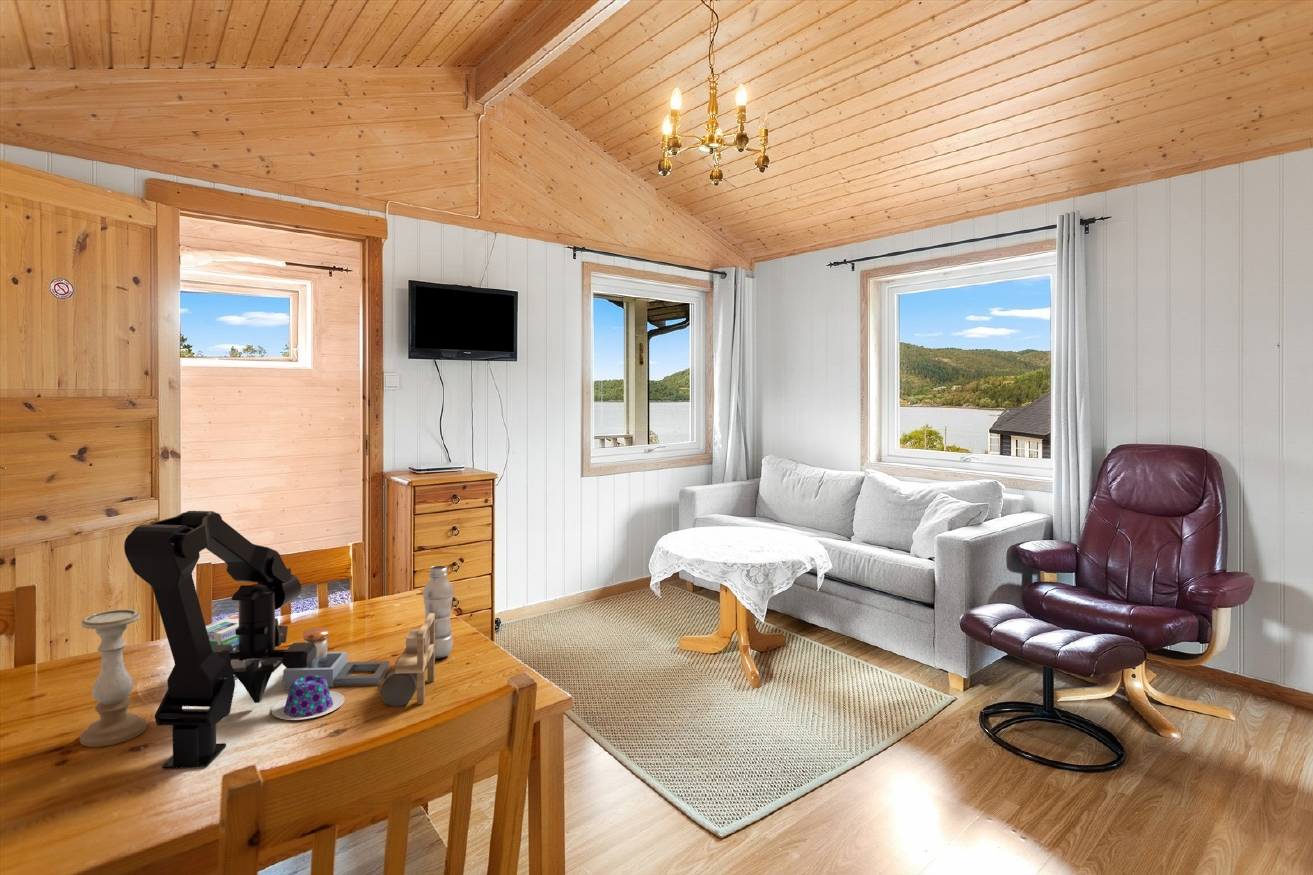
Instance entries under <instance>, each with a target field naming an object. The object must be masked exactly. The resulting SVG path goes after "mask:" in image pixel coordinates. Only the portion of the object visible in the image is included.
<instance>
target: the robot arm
mask: <svg viewBox="0 0 1313 875" xmlns="http://www.w3.org/2000/svg"><path fill="white" fill-rule="evenodd" d="M222 517H223V516H221V514H220V513H218V512H215V511H214V510H213V511H211V510H188V511H185V512H182V513H180V514H178V515H176V516H173V517H169V518H163V519H161V520H157V521H153V522H150V523H148V524H146V523H145V524H139V525H138V526H136V527H135V528H134V529H133V530H131V532H130V533H129V534H128V535H127V536H126V538H125V541H124V545H123V549H124V555H125V558H126V559H127V561H128V563H129V565H130V567H131V569H132V570H133V572H134V573H135V574H136V575H137V576H138V577H139V578H141V579H142V580H144V582H146V583H147V584H148V585H150V586H151V587H152V591H153V594H154V598H155V600H156V601H155V602H156V605H157V608H158V612H159V615H160V617H161V622H162V624H163V627H164V632H165V634H166V638H167V642H168V644H169V645H168V646H169V648H170V651H171V654H172V655H171V656H172V657H173V658H172V659H173V661H174V665H173V667H172V670H171V671H170V673H169V675H168V678H167V681H166V682H167V689H166V692H165V693H164V696H163V697H162V700H161V702H160V704H159V706H158V708H157V710H156V712H155V714H154V720H155V723H156V726H159V727H163V726H172V730H171V732H172V755H171V757H169V758H168V759H167V760H165V762H164V763H163V764H162V765H161V769H163V770H169V769H172V770H174V769H193V768H206V767H208V766H209V765H210V764H211V763H212V762H213V761H214V760H215V759H216V758H217V757H218V756H219V755H220V754H221V753H222V752H223V751H224V750H225V748H227V744H226V743H224V742H222V743H221V742H219V743H217V725H218V723H219V722H221V721H222V720H223V719H226V717H227V716H229V715H230V713H231V709H232V704H233V698H234V692H235V687H236V679H235V680H234V676H233V674H234V675H235V676H236V677H237V678H238V679H237V680H239V682H240V683H241V684H242V686H243V687H244V688H245V690H246V692H247V693H248V696H250V698H251V700H252V701H253V703H254V704H259V703H260V702H262V700H263V698H264V694H265V690H266V689H267V686H268V683H269V681H270V679H271V677H272V674H273V673H274V672H275V671H276V670H277V669H278V668H279V667H280V666H281V665H283V666H284V667H285V668H304V667H307V666H308V665H309V664H310V663H311V661H312V660H313V659H314V658H315V657H316V656H317V648H316V646H315V645H314V643H305V642H293V643H292V644H291V645H290V646H289V647H288V648H287V649H276V648H277V647H280V646H281V645H282V644H283V643H284V644H286V643H287V637H288V636H287V635H288V629H289V626H288V625H279V620H278V619H279V618H276V610H278V609H281V608H282V607H284V606H286V605H287V604H289V603H291V602H293V601H294V600H296V599H297V598H299V596H300V595H301V592H302V584H301V582H300V580H299V579H298V577H297V576H296V575H294V574H292V568H291V567H287V566H286V565H285V563H284V560H283V559H282V557H281V554H280V553H279V552H278V551H277V550H276V549H273V548H271V547H269V546H268V547H267V546H263V545H258V544H255V543H253V542H251V541H249V540H248V538H246V537H244V536H243V535H242V534H241V533H240V532H238V531H237V530H236V529H234V527H232V526H231V525H229V524H228V523H227V522H226V521H225V520H223V518H222ZM205 549H206V550H207V551H209V552H210V553H211V554H213V555H214V556H216V557H217V558H219V559H220V560H222V561H223V562H224V563H225V564H226V568H225V571H226V573H228V575H229V576H230V577H231V578H232V579H233V580H234V581H236V582H238V583H254V584H251V585H244V584H242V585H240V586H239V588H238V589H237V590H236V592H234V593H233V595H232V596H231V601H238V608H237V609H238V615H239V627H238V628H237V629H236V635H239V650H238V651H233V647H232V646H231V645H211V644H210V641H209V637H208V633H207V630H206V626H207V625H206V623H205V618H204V615H203V610H202V608H201V604H200V601H199V600H200V599H199V597H198V594H197V590H196V586H195V585H196V584H195V583H194V582H195V581H194V579H193V572H194V570H195V567H196V565H197V564H198V561H199V559H200V556H201V555H200V553H201V552H202V551H204V550H205ZM231 662H232V665H231ZM259 663H260V664H261V666H260V667H259ZM183 707H199V708H183ZM200 707H201V708H200ZM203 707H205V708H206V709H205V708H203Z"/></svg>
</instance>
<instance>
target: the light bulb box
mask: <svg viewBox="0 0 1313 875" xmlns="http://www.w3.org/2000/svg"><path fill="white" fill-rule="evenodd" d="M205 626H206V630H207V633H208V637H209V641H210V644H211V645H231V646H232V647H233V651H238V650H239V635H236V629H237V628H238V627H239V614H233V615H231V616H228V617H226V618H222V619H221V620H218V621H214V622H212V623H210V624H208V625H205ZM231 665H232V662H231ZM260 666H261V664H260V663H259V667H260ZM233 676H234V680H235V681H236V680H239V679H238V678H237V677H236V676H235V675H234V674H233Z"/></svg>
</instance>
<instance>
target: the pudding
mask: <svg viewBox="0 0 1313 875" xmlns="http://www.w3.org/2000/svg"><path fill="white" fill-rule="evenodd" d="M329 688H330V687H328V684H327V681H326V679H325V678H324V677H323V676H317V675H312V676H305V677H301V678H300V679H296V680H295V681H294V682H293V683H292V684H291V686H290V688H288V694H287V696H286V697H285V698H282V699H281V700H279V701H277V702H276V703H275V704H274V706H272V707H271V713H272V715H273V717H276V718H278V719H282V720H288V721H289V720H290V721H299V720H301V721H302V720H308V719H314V718H317V717H321V716H324V715H327V714H328V713H331V712H333V711H335V710H337V709H338V708H339V707H341V706H343V703H344V702H345V696H344V695H343V694H341V693H339V692H338V691H334V690H330V689H329ZM328 708H329V709H328Z"/></svg>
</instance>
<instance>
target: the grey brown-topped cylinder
mask: <svg viewBox="0 0 1313 875" xmlns="http://www.w3.org/2000/svg"><path fill="white" fill-rule="evenodd" d="M329 637H330V629H329V628H327V627H314V628H310V629H309V628H308V629H307V630H304V631H303V633H302V639H303V640H304V641H305V642H304V643H314V645H315V646H316V648H317V656H316V657H315V658H314V659H313V660H312V661H311V663H310V664H309V665H308V666H307V667H305V668H327V652H328V638H329Z"/></svg>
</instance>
